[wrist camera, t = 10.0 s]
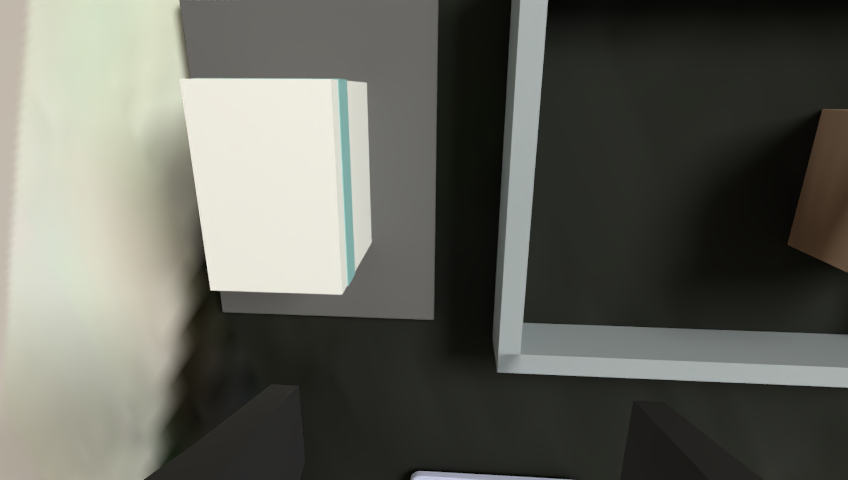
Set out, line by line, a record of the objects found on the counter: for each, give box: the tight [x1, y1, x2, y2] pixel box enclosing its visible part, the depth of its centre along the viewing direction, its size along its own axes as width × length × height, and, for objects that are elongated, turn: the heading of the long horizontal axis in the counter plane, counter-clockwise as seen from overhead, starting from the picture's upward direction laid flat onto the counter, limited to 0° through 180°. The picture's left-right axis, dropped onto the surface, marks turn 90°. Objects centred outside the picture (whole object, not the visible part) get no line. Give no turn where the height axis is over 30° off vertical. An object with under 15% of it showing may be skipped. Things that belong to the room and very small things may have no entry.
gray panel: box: [180, 0, 438, 320], centre depth 18 cm, size 12×9×1 cm
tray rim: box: [492, 0, 848, 387], centre depth 16 cm, size 14×17×2 cm
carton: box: [180, 78, 372, 295], centre depth 15 cm, size 4×6×5 cm
